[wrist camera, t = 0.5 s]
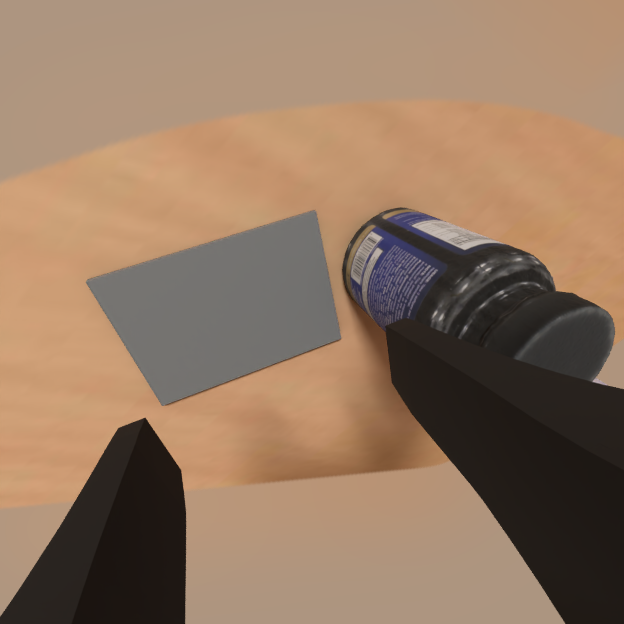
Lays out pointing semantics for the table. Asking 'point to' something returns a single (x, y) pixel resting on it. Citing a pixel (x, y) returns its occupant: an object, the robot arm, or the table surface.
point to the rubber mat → (223, 306)
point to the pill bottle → (473, 292)
